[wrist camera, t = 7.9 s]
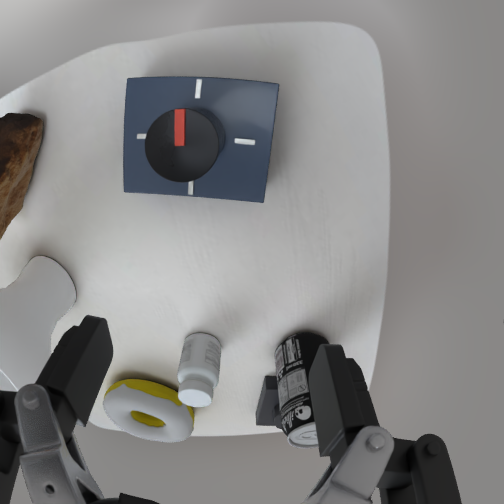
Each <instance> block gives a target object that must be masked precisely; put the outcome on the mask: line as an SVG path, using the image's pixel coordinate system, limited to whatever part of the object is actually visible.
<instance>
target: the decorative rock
mask: <svg viewBox="0 0 504 504" xmlns="http://www.w3.org/2000/svg"><path fill="white" fill-rule="evenodd" d="M42 131H43V120H42V119H40V118H38V117H36V116H33V115H30V114H18V113H7V114H6V115H5V116H3V117H2V118H0V239H1V238H2V236H3V234H4V232H5V231H6V228H7V227H8V225H9V224H10V223H11V220H12V219H13V218H14V217H15V216H16V215H17V214H18V213H19V212H20V210H21V209H22V207H23V201H24V197H25V195H26V192H27V190H28V185H29V183H30V178H31V176H32V172H33V164H34V161H35V158H36V155H37V153H38V150H39V147H40V144H41V139H42Z"/></svg>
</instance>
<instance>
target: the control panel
mask: <svg viewBox="0 0 504 504" xmlns="http://www.w3.org/2000/svg"><path fill="white" fill-rule="evenodd" d="M278 91H279V84H277V83H269V82H261V81H252V80H242V79H230V78H214V77H140V78H128V79H127V86H126V99H125V116H124V147H123V175H124V192H128V193H147V194H164V195H179V196H193V197H205V198H217V199H228V200H239V201H249V202H259V203H263V202H264V197H265V190H266V182H267V175H268V167H269V160H270V152H271V145H272V137H273V129H274V122H275V114H276V106H277V99H278ZM179 108H202V109H206V110H208V111H210V112H212V113H213V114H214V115H216V116H217V118H218V119H219V120H220V121H221V123H222V125H223V128H224V132H225V142H224V146H223V149H222V151H221V153H220V154H219V156H218V158H217V160H216V162H215V163H214V165H213V166H212V168H211V169H210V170H209V171H208V172H207V173H206V174H205V175H204V176H202V177H201V178H199V179H197V180H194V181H191V182H185V183H178V182H172V181H169V180H166V179H164V178H163V177H161V176H159V175H158V174H157V173H156V172H155V171H154V170H153V169H152V167H151V166H150V164H149V162H148V160H147V158H146V154H145V138H146V134H147V132H148V129H149V128H150V126H151V124H152V123H153V122H154V121H155V120H156V119H157V118H158V117H159V116H160V115H162V114H163V113H165V112H167V111H170V110H173V109H179Z"/></svg>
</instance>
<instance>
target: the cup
mask: <svg viewBox="0 0 504 504" xmlns="http://www.w3.org/2000/svg"><path fill="white" fill-rule="evenodd" d="M75 300H76V291H75V287H74V284H73V281H72V280H71V278H70V276H69V275H68V273H67V272H66V271H65V270H64V268H63V267H62V266H60V265H59V264H58V263H57V262H56V261H54V260H52V259H50V258H48V257H44V256H36V257H34V258H32V259H31V260H30V261H29V262H28V264H27V265H26V266H25V268H24V269H23V270H22V272H21V274H20V275H19V277H18V278H17V280H15V281H14V282H13V283H11V284H10V285H9V286H7V287H6V288H2V289H0V390H2V391H14V392H18V390H19V389H20V388H21V387H23V386H25V385H27V384H34V383H35V382H36V380H37V379H38V377H39V375H40V373H41V371H42V370H43V368H44V366H45V364H46V363H47V361H48V359H49V357H50V356H51V334H52V332H53V330H54V328H55V325H56V323H57V321H59V320H60V319H61V318H62V317H63V316H64V315H65V314H66V313H67V312H68V311H69V310H70V309H71V308H72V306H73V305H74V303H75Z"/></svg>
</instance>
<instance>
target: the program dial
mask: <svg viewBox="0 0 504 504" xmlns="http://www.w3.org/2000/svg"><path fill="white" fill-rule="evenodd" d="M224 142H225V132H224V128H223V125H222V123H221V121H220V120H219V119H218V118H217V116H216V115H214V114H213V113H212V112H210V111H208V110H206V109H202V108H179V109H173V110H170V111H167V112H165V113H163V114H162V115H160V116H159V117H158V118H157V119H156V120H155V121H154V122H153V123H152V124H151V126H150V128H149V129H148V132H147V134H146V138H145V154H146V158H147V160H148V162H149V164H150V166H151V167H152V169H153V170H154V171H155V172H156V173H157V174H158V175H159V176H161V177H163V178H164V179H166V180H169V181H172V182H178V183H185V182H191V181H194V180H197V179H199V178H201V177H202V176H204V175H205V174H206V173H207V172H208V171H209V170H210V169H211V168H212V166H213V165H214V163H215V162H216V160H217V158H218V156H219V154H220V153H221V151H222V149H223V146H224Z"/></svg>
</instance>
